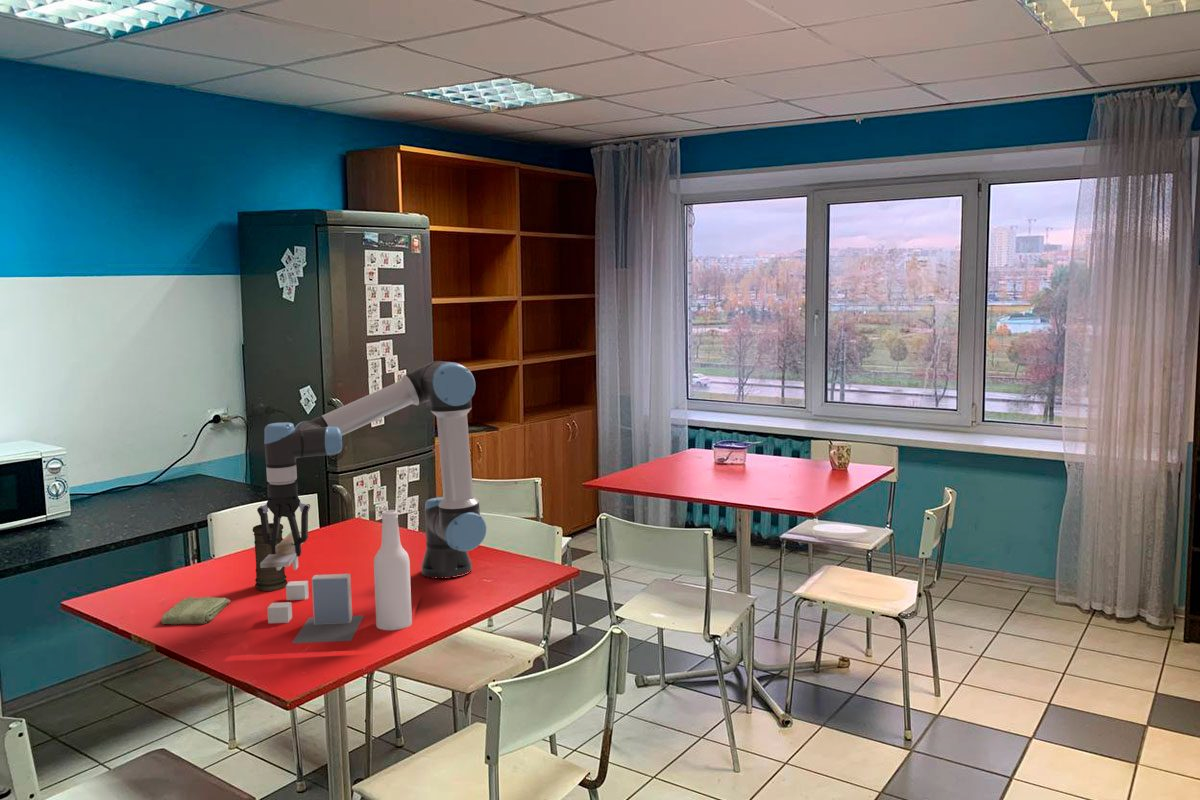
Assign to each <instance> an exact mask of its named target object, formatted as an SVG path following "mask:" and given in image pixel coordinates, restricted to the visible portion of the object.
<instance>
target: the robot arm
mask: <svg viewBox="0 0 1200 800" xmlns="http://www.w3.org/2000/svg"><path fill="white" fill-rule="evenodd" d="M476 387H477V386H476V380H475V377H474V375H473V373H472V372H471V371H470V370H469V368H467V367H466V366H464V365H462V364H461V363H458V362H454V361H453V362H451V361H444V360H435V361H432V362H428V363H427V364H425V365H423V366H420V367H418V368H417V369H415V370H412V371H410V372H409V373H406V374H404V375H402V377H401V380H399V381H396V382H394V383H392V384H390V385H387V386H385V387H383V388H381V389H378V390H376V391H374V392H372V393H370V394H367V395H365V396H363V397H361V398H358V399H356V400H354V401H351V402H349V403H348V404H345V405H343V406H340V407H338V408H336V409H334V410H333V409H332V410H331V411H329V412H327V413H325V414H323V415H321V416H317V417H315V418H313V419H311V420H304V421H301V422H299V423H297V424H296V425H294V423H292V422H286V421H285V422H273V423H269V424H267V425H265V427H264V441H263V444H264V452H265V453H264V457H265V466H266V467H265V468H266V482H268V484H267V485H266V489H267V502H266V503H265V504H264V505H260V506H258V507H257V513H258V515H259V517H260V524H261V526H262V534H263V541H264V544H269V545H271V548H272V554H276V551H275V547H276V546H277V545H278V544H277V543H278V536H279V528H280V524H281V520H282V518H283V517H284V518H287V521H288V523H289V527H290V532H292V536H293V540H294V544H293V545H292V553H296V557H297V558H296V559H295V560H294V561H293V562H292V570H294V571H297V569H298V568H299V557H300V556H301V555H302V545H301V543H303V542H304V543H305V542H306V541H307V540H308V539H309V512H310V509H311V504H310V503H303V502H301V500H300V498H299V490H298V489H299V488H298V486H299V485H298V482H297V479H298V473H297V472H298V470H297V459H301V458H307V457H320V456H321V457H322V456H331V455H332V456H333V455H337V454H340V453H341V452H342V450H343V436H344V435H345V436H346V434H350V433H351V432H354V431H355V430H357V429H360V428H362V427H364V426H366V425H368V424H371V423H373V422H375V421H378V420H379V419H382V418H384V417H385V416H388V415H390V414H393V413H395V412H397V411H399V410H401V409H403V408H404V409H405V408H406V407H408V406H410V405H413V406H414V405H415V406H419V405H421V404H424V403H426V402H429V403H430V404H429V405H430V407H429V408H430V412H431V414H433V415H434V416H435V417H436V425H437V437H438V451H439V459H440V472H441V476H440V477H441V484H442V485H441V486H442V487H441V488H442V496H440V497H433V498H429V499H427V500H426V501H425V502H424V503H425V505H424V517H425V518H424V520H425V539H426V540H425V545H426V547H425V548H426V550H425V551H424V556H423V559H422V563H421V569H420V571H421V575H422V574H423V575H425V576H428V577H427V578H429V577H434V578H433V579H435V577H437V578H442V577H443V578H445V577H453V576H457V575H462V574H465V573H467V572H469V571H470V570H471V569H472V567H473V566H472V560H471V558H470V555H469V551H472V550H474V549H476V548H477V547H479V546H480V545H481V543H482V542H483V541H484V539H485V537H486V534H487V524H486V521H485V519H484V517H483V516H481V512H480V510H481V509H480V507H481V506H480V501H479V499H478V498H476V497H475V496H474V489H473V476H472V464H471V463H472V462H471V450H470V449H471V447H470V437H469V436H470V435H469V424H468V423H469V422H468V414H469V413H470V411H471V410H472V408H473V407H472V406H473V405H472V398H473V396H474V395H475V393H476V392H475V391H476ZM299 508H300V509H299ZM298 509H299V510H300V513H301V514H300V516H301V517H300V530H299V527H298V523H297V518H296V516H297V515H296V512H297V510H298ZM269 511H270V512H271V513H272V514H273V520H272V521H273V522H272V523H273V529H272V537H271V538H270V530H269V523H270V522H269V515H268V512H269ZM299 532H301V538H300V534H299ZM304 543H303V544H304ZM281 568H282V567H277V570H280V569H281ZM472 570H473V569H472ZM423 575H422V576H423ZM425 576H424V577H425Z"/></svg>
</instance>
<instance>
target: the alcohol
mask: <svg viewBox="0 0 1200 800" xmlns="http://www.w3.org/2000/svg"><path fill="white" fill-rule="evenodd" d="M398 512H399V511H398V510H396V509H387V510H383V511H382V512H381V519H382V521H381V523H382V524H381V545H380V548H379V549H378V551H377V552H376V553H375V556H374V559H373V575H374V576H373V577H374V598H375V599H374V600H375V601H374V603H375V605H374V606H375V627H376V628H377V629H379V630H382V631H397V630H402V629H407V628H408V627H411V626H412V625H413V620H412V619H413V615H412V592H411V589H412V588H411V566H410V563H411V562H410V557H409V556H410V555H409V553H408V552H407V551H406V550H405V549H404V547H403V546H402V543H401V537H400V536H401V535H400V529H399V520H398V518H399V516H398V514H399V513H398Z"/></svg>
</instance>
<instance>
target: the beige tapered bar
mask: <svg viewBox="0 0 1200 800" xmlns="http://www.w3.org/2000/svg"><path fill="white" fill-rule="evenodd" d="M299 534H300V538H301V531H299ZM304 543H305V542H303V543H301V546H302V545H303V544H304ZM293 544H294V540H293V536H292V532H291V531H289V533H288V534H287V535H286V536H285V537H284V538H283V540H282V541H281V542H280V543H279V544H278V545H277V546H276V547H275V551H276V554H269V555H268V556H267V557H266V558H265V559H264V560H263V561H262V562H261V563H260V568H268V567H285V568H288V567H290V566H291V565H293V561H294V560H295V559H296V558H297V557H296V553H292V545H293Z"/></svg>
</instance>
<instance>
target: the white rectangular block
mask: <svg viewBox="0 0 1200 800" xmlns="http://www.w3.org/2000/svg"><path fill="white" fill-rule="evenodd" d="M351 581H352V580H351V573H335V574H315V575H313V576H312V577H311V588H312V589H311V590H312V593H311V594H312V609H313V610H312V611H313V612H312V613H313V618H314V625H318V624H342V623H351V621H352V616H353V605H352V583H351Z"/></svg>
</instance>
